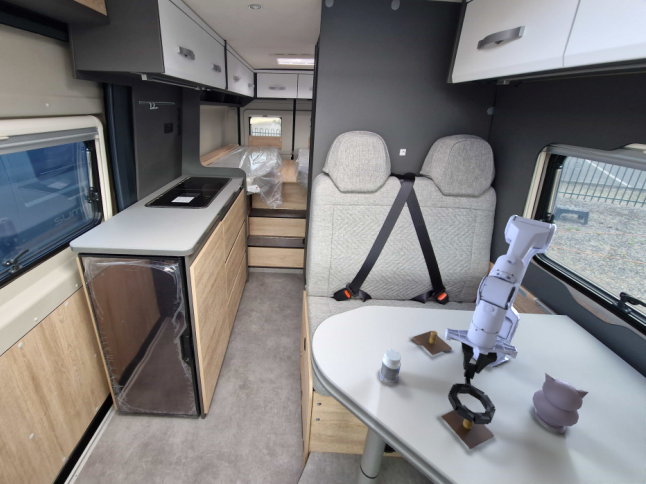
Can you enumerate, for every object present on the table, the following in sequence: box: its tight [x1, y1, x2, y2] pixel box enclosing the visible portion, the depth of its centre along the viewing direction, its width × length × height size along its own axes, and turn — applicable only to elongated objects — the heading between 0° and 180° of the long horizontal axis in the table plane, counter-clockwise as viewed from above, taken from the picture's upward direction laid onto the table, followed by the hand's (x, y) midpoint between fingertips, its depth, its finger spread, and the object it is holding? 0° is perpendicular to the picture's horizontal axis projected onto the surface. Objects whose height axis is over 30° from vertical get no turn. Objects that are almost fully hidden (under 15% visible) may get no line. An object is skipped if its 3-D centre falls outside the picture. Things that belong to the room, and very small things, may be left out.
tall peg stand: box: [411, 330, 452, 356], centre depth 96 cm, size 8×8×5 cm
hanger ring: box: [447, 362, 497, 425], centre depth 71 cm, size 12×9×6 cm
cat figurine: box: [532, 372, 589, 435], centre depth 73 cm, size 8×8×12 cm
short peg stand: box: [440, 404, 496, 450], centre depth 71 cm, size 8×8×4 cm
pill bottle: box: [379, 348, 402, 383], centre depth 83 cm, size 5×5×8 cm
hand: (470, 368), depth 76 cm, fingers closed on hanger ring
